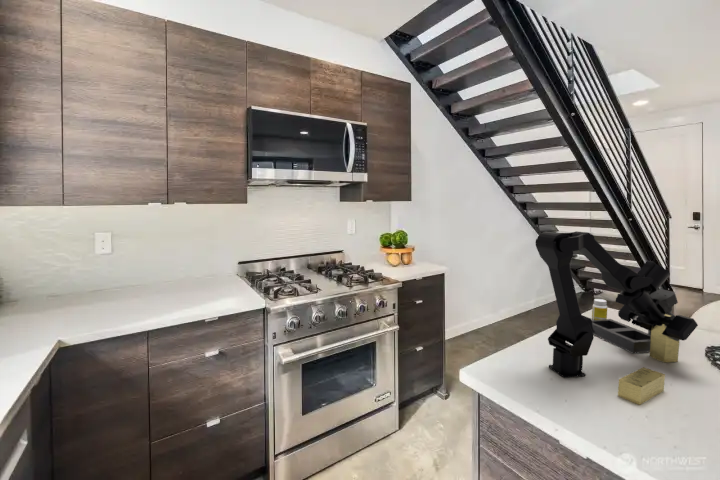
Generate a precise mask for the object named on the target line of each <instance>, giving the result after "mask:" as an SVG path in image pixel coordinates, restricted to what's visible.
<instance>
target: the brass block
mask: <svg viewBox="0 0 720 480" xmlns="http://www.w3.org/2000/svg"><path fill="white" fill-rule="evenodd" d="M665 316H668V317H670V315H667V314H665ZM664 325H665V324H663V325H662V326H658V325H655V327H654V326H652V328H651V342H650V352H649V357H650V358H653V359H655V360H657V361H659V362H661V363H664V364H667V363H678V362H679V351H680V350H679V349H680V340H679V341H675V340H673V339H671V338H669V337H667V336H665V335H663V334H662V333H663V331H664V330H665V328H666V327H665V326H664Z"/></svg>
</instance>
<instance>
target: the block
mask: <svg viewBox="0 0 720 480" xmlns="http://www.w3.org/2000/svg"><path fill="white" fill-rule="evenodd" d="M665 377H666V374H665V373H662V372H659V371H656V370H653V369H649V368H647V367H646V366H643V367H641V368H638V369H637V370H635V371H632V372H631V373H628V374H626V375H625V376H622V377H620V378H619V379H618V391H617V397H619V398H621V399H625V400H627V401H628V402H632V403H634V404H635V405H636V404H637V405H638V406H641V405H643V404H644V403H646V402H648V401H649V400H651V399H653V398H654V397H656V396H658V395H660V394H661V393H663V392H664V391H665V379H666V378H665Z"/></svg>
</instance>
